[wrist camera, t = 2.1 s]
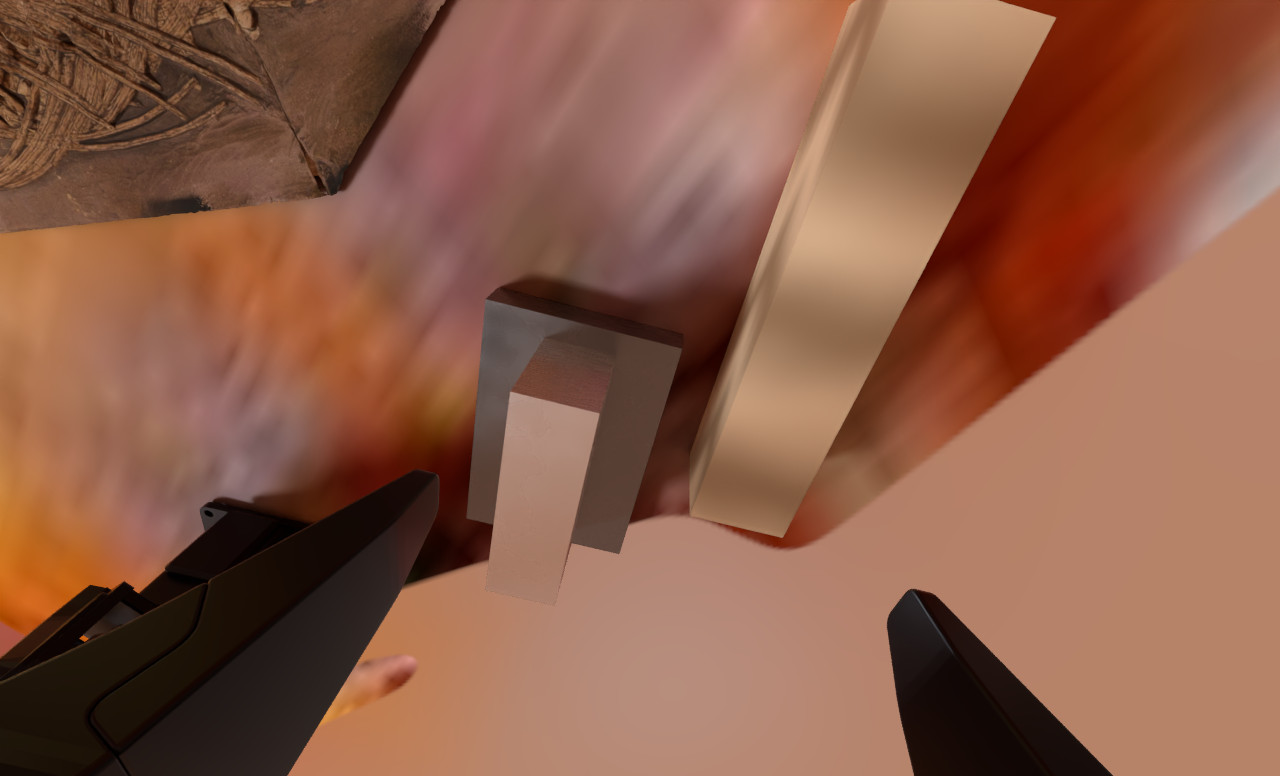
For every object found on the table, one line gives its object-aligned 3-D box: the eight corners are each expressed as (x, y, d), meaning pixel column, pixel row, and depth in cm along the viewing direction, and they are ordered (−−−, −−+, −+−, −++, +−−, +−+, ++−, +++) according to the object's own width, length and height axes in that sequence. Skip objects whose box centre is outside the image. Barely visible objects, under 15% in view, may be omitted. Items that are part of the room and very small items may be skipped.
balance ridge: (622, 532, 27) (607, 633, 22) (477, 498, 27) (426, 592, 22) (682, 334, 21) (681, 406, 16) (498, 287, 21) (435, 345, 16)
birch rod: (767, 470, 25) (782, 537, 21) (689, 451, 25) (689, 515, 21) (966, 40, 16) (1056, 17, 12) (846, 6, 16) (900, -29, 12)
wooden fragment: (400, -383, 13) (378, -421, 12) (574, 87, 18) (568, 86, 17) (-157, 49, 19) (-200, 46, 18) (83, 310, 24) (58, 318, 23)
